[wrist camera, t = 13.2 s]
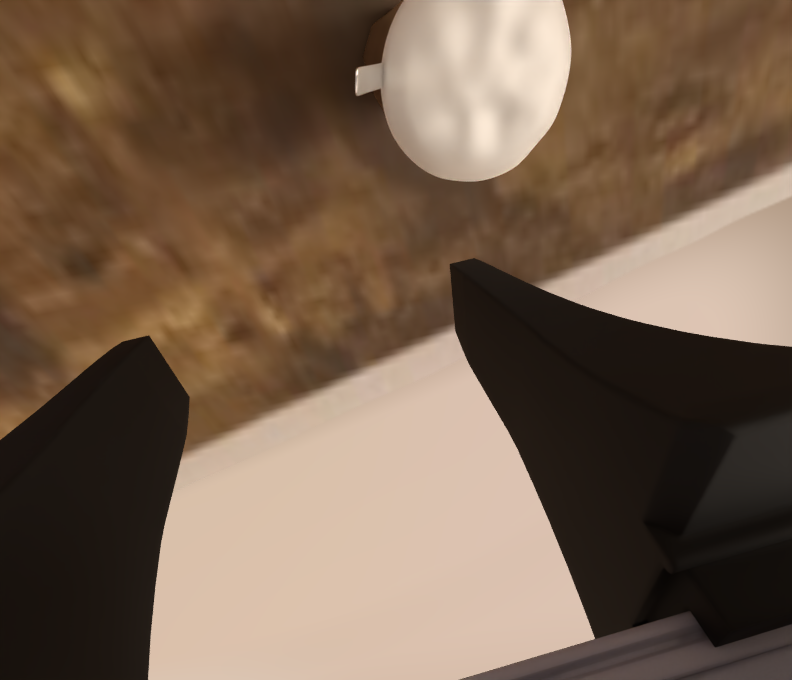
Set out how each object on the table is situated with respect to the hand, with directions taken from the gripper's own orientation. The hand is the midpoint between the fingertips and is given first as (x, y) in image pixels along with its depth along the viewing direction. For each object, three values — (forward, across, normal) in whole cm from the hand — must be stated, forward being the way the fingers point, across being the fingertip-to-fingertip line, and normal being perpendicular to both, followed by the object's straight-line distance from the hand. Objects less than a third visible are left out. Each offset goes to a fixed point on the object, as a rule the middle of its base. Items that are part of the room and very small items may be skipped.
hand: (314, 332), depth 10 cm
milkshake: (+11, -5, -4) cm, 12 cm away
